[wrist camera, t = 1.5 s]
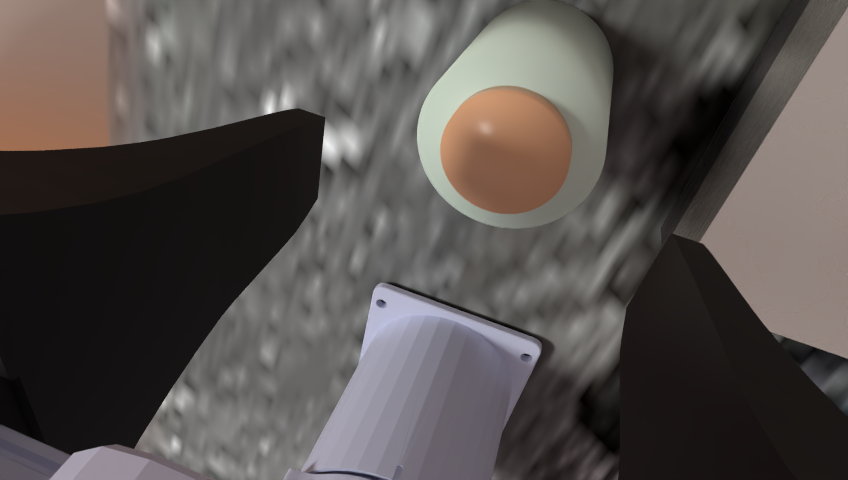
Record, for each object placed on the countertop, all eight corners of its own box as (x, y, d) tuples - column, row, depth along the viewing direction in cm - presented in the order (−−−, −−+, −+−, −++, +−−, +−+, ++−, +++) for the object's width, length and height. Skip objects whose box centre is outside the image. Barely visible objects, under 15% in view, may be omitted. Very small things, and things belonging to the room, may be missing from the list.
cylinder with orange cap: (581, 159, 20) (563, 264, 15) (455, 118, 21) (395, 205, 16) (638, 24, 17) (641, 96, 12) (490, -19, 18) (431, 32, 13)
